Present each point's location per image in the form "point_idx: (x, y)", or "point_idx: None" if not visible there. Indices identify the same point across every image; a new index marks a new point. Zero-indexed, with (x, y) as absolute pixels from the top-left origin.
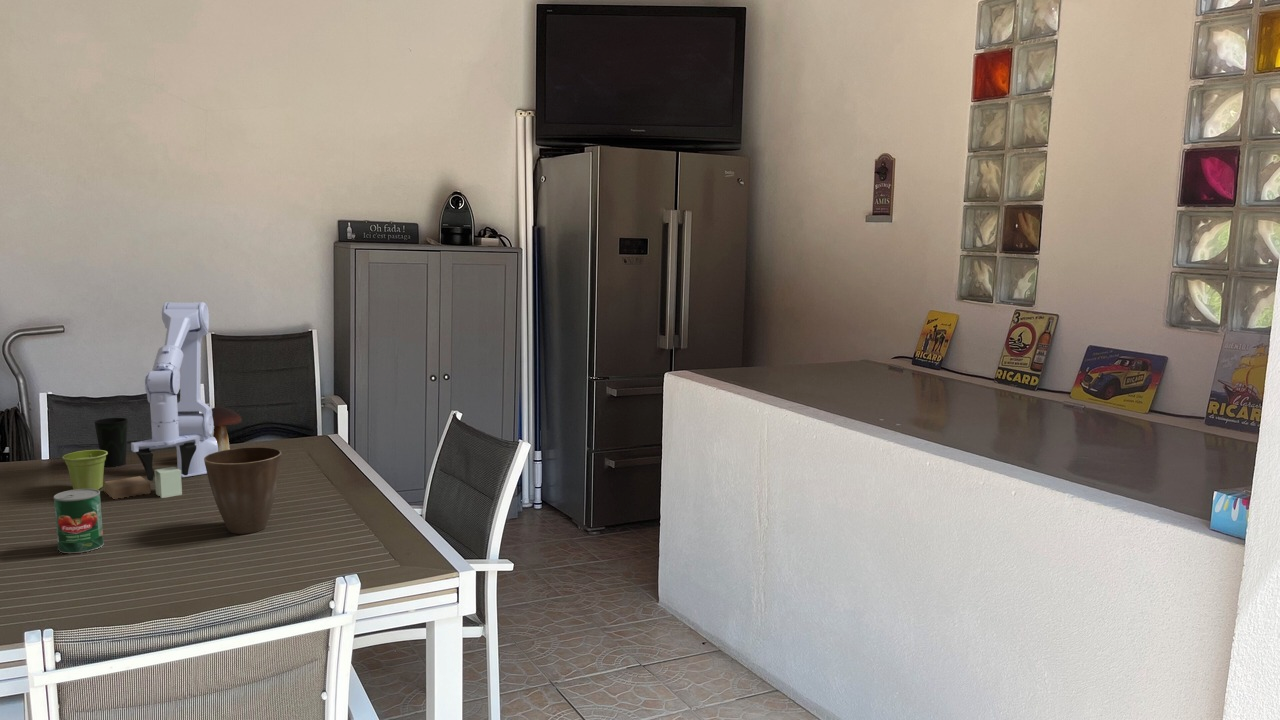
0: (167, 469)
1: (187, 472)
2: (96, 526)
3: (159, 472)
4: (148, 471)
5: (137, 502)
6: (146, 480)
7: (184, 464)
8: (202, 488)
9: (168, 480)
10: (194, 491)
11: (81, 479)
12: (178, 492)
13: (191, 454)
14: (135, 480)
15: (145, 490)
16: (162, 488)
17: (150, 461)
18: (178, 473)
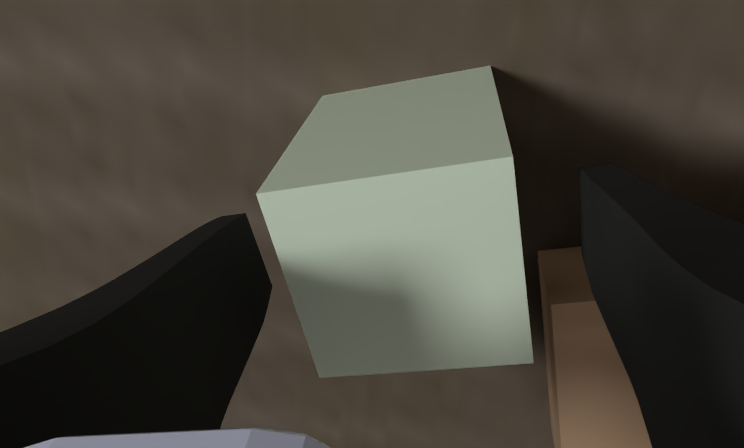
0: (400, 300)
1: (207, 225)
2: None
3: (513, 206)
4: (679, 198)
5: (720, 14)
6: (557, 383)
7: (198, 297)
8: (176, 201)
9: (417, 130)
10: (229, 145)
11: None
12: (346, 97)
13: (7, 335)
14: (632, 419)
15: (582, 265)
16: (484, 94)
17: (722, 256)
18: (294, 175)
